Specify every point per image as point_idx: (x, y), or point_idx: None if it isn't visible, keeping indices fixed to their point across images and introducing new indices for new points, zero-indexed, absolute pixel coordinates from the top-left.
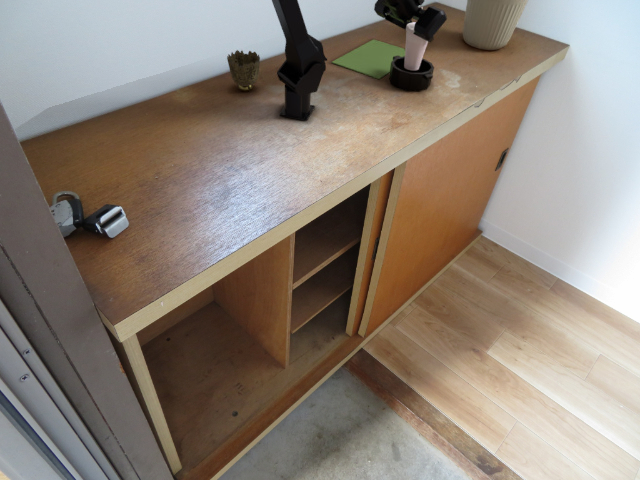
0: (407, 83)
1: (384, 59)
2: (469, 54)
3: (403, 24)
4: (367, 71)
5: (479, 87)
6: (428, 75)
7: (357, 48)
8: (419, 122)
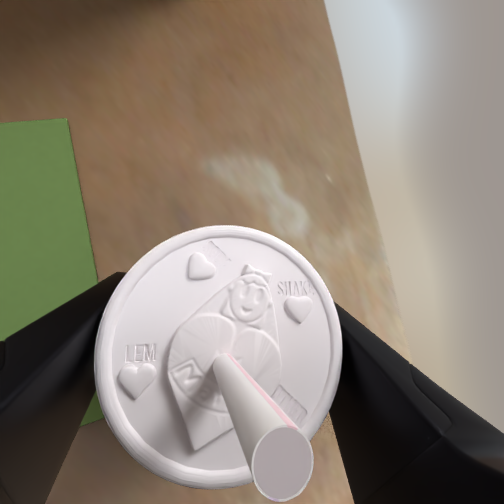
0: None
1: (7, 264)
2: (183, 18)
3: (63, 432)
4: None
5: (335, 175)
6: None
7: None
8: None
